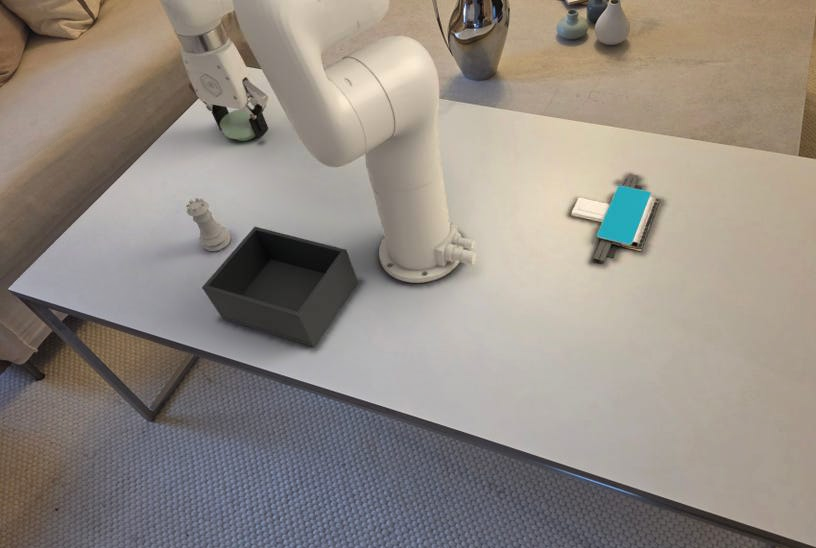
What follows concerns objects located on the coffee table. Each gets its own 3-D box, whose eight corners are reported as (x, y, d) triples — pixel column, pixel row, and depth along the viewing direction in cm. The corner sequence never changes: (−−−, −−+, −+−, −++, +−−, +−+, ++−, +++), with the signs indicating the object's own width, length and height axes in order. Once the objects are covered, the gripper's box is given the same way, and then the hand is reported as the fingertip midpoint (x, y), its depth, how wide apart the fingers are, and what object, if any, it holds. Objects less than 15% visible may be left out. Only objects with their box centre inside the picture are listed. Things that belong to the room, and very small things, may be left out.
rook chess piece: (210, 257, 91) (186, 218, 84) (198, 242, 93) (174, 203, 86) (236, 243, 92) (215, 203, 86) (224, 228, 94) (203, 189, 88)
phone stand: (593, 169, 97) (594, 161, 96) (665, 184, 94) (667, 176, 92) (554, 251, 86) (554, 243, 85) (634, 272, 83) (635, 264, 82)
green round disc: (273, 125, 111) (268, 111, 109) (251, 148, 107) (244, 134, 105) (241, 119, 113) (235, 105, 111) (218, 141, 109) (211, 127, 107)
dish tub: (358, 282, 85) (346, 249, 80) (314, 347, 79) (298, 316, 73) (271, 259, 89) (254, 226, 84) (222, 319, 83) (201, 287, 77)
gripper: (146, 40, 96) (194, 134, 110) (232, 54, 91) (272, 150, 105) (176, 19, 100) (219, 111, 114) (260, 31, 95) (294, 126, 109)
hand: (244, 129), depth 109 cm, fingers closed on green round disc, 7 cm apart
